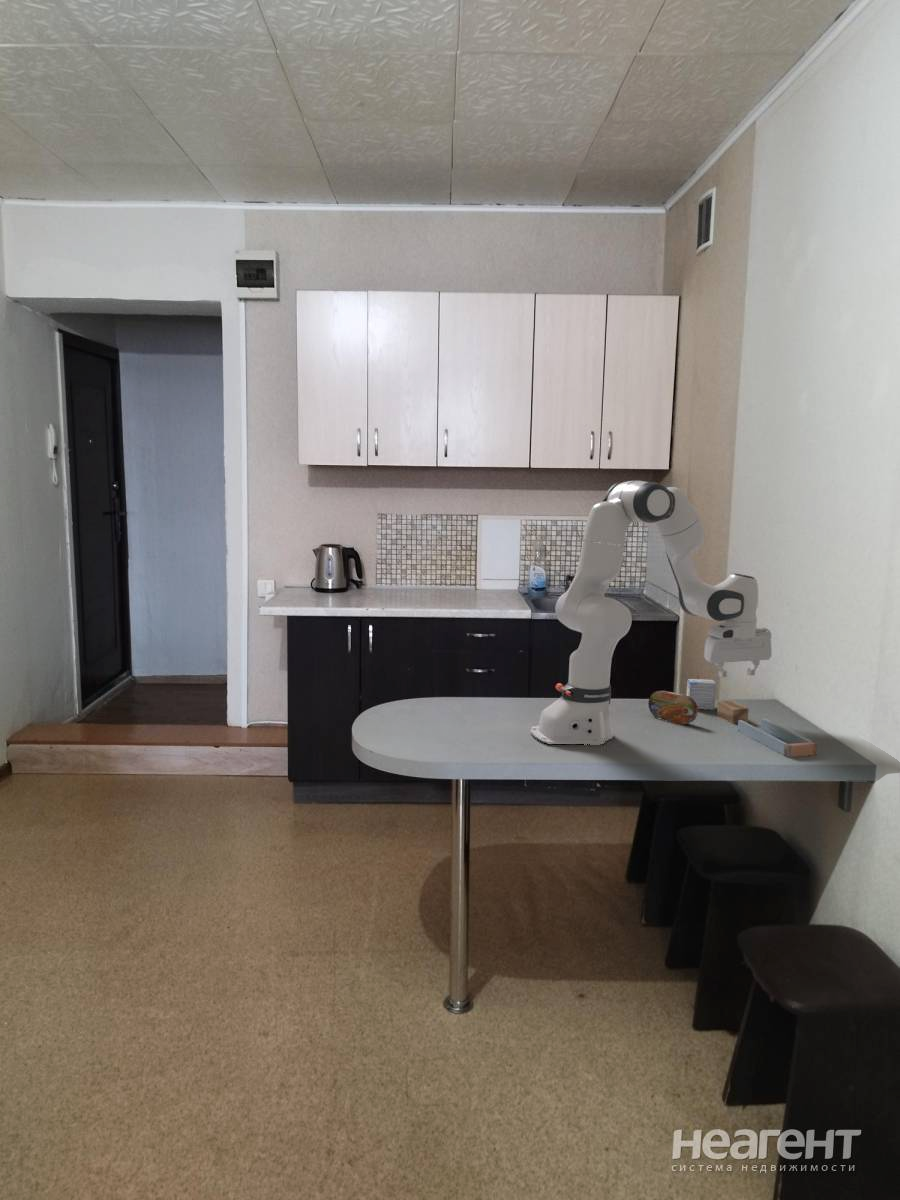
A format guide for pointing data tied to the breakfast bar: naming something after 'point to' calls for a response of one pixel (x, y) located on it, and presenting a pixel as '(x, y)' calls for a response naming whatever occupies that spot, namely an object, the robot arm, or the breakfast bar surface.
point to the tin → (673, 707)
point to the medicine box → (702, 692)
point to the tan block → (732, 711)
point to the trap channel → (794, 749)
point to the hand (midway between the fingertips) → (736, 675)
